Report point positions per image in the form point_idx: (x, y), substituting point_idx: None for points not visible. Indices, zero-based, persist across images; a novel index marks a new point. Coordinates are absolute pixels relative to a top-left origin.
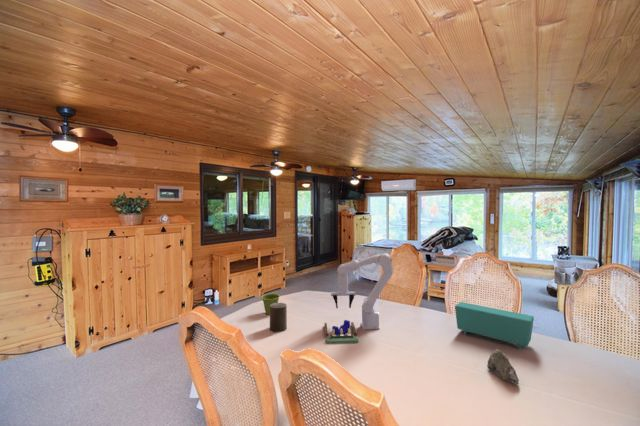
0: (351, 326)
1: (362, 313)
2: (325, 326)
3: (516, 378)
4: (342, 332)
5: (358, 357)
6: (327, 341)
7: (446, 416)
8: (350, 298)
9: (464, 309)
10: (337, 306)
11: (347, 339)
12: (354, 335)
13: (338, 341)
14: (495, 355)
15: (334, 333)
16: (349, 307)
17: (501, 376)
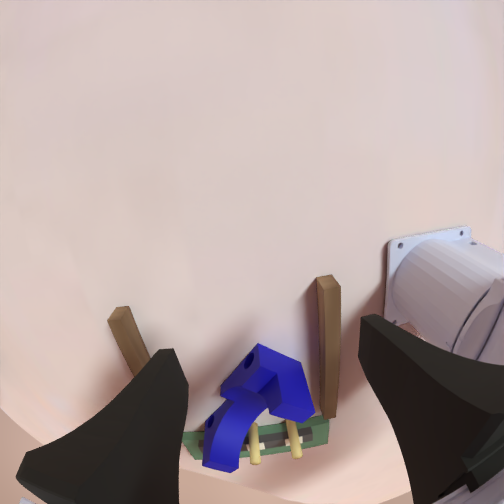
0: (317, 294)
1: (442, 348)
2: (136, 374)
3: None
4: (256, 410)
5: (309, 479)
6: (197, 458)
7: (388, 499)
8: (418, 490)
9: None
10: (184, 411)
11: (282, 447)
12: (320, 402)
13: (242, 455)
14: None
15: None
16: (360, 356)
17: None
